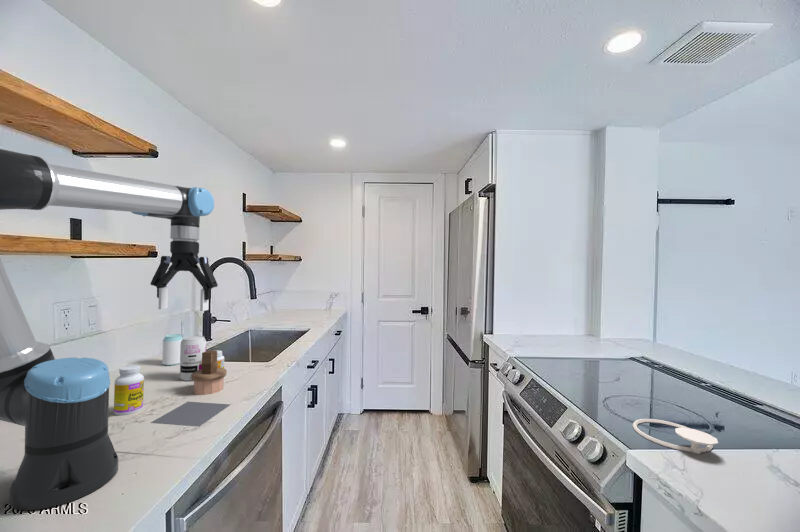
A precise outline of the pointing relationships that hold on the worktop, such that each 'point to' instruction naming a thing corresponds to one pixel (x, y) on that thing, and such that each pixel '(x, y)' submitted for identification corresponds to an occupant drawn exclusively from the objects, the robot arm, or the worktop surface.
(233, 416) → the worktop surface
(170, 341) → the can
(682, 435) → the hand towel holder
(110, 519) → the worktop surface
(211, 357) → the lid
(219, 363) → the supplement bottle
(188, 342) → the supplement can
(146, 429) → the worktop surface
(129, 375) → the supplement bottle
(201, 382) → the bowl
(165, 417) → the mat
